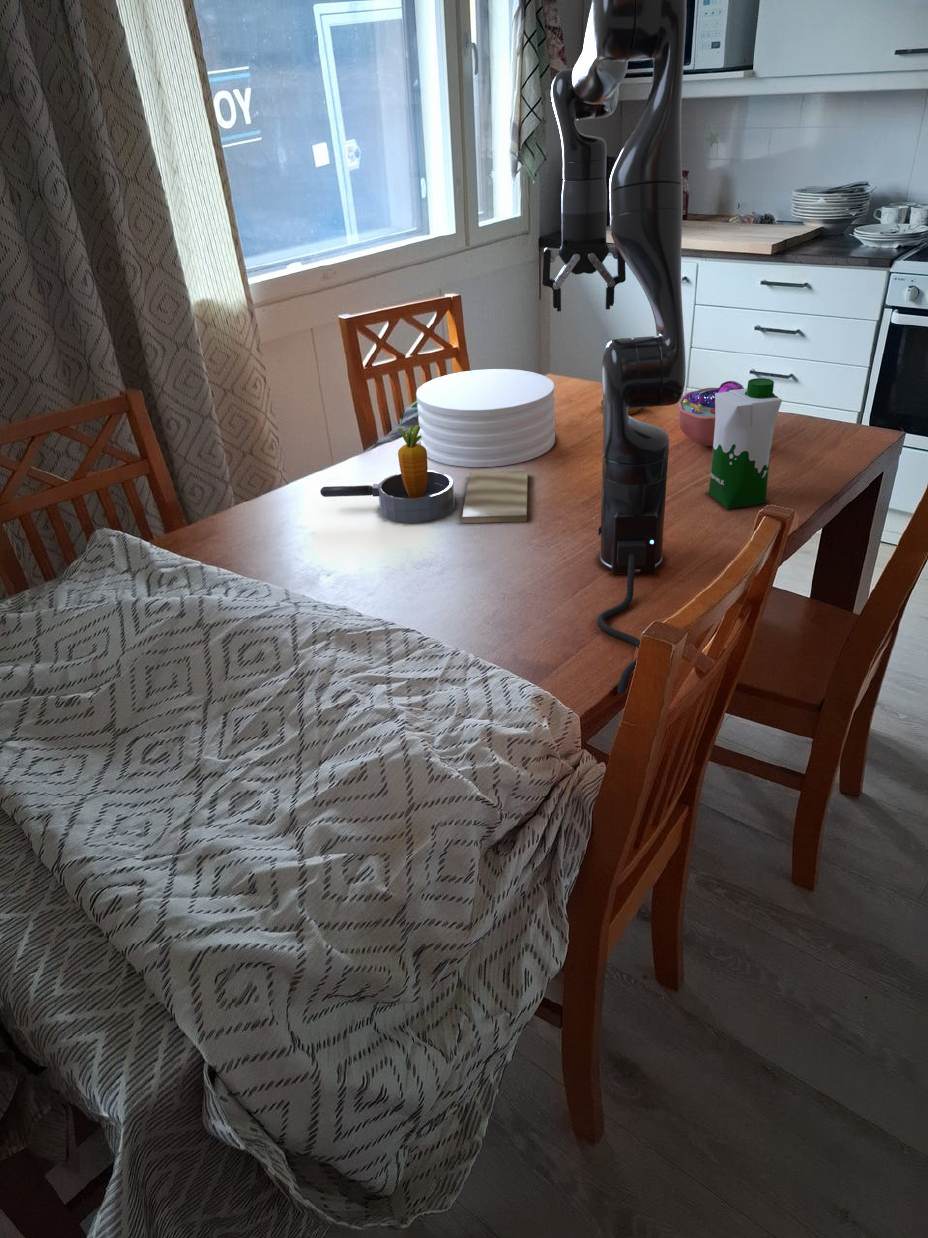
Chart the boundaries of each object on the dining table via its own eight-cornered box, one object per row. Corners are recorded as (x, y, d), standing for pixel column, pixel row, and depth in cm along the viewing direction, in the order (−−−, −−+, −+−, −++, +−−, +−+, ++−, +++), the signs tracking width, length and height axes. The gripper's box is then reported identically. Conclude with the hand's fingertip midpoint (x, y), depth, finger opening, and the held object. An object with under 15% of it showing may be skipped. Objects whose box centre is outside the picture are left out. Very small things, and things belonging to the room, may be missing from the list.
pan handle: (382, 492, 153) (381, 483, 152) (380, 496, 151) (379, 487, 150) (322, 494, 154) (320, 484, 153) (320, 498, 152) (318, 489, 151)
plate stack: (436, 475, 165) (431, 417, 159) (410, 430, 189) (405, 378, 183) (573, 455, 170) (574, 398, 164) (531, 413, 194) (530, 362, 188)
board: (526, 521, 145) (526, 515, 145) (462, 523, 146) (461, 516, 146) (527, 476, 162) (527, 470, 162) (469, 478, 163) (469, 472, 163)
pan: (451, 522, 147) (449, 498, 144) (375, 524, 148) (372, 500, 146) (457, 491, 158) (455, 468, 156) (386, 494, 159) (384, 471, 157)
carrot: (398, 507, 153) (388, 426, 145) (417, 498, 156) (409, 418, 148) (417, 514, 150) (409, 431, 142) (437, 504, 153) (430, 423, 145)
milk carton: (773, 504, 145) (789, 386, 134) (724, 512, 143) (736, 394, 133) (747, 485, 152) (760, 372, 142) (700, 492, 151) (709, 379, 140)
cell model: (653, 446, 171) (656, 390, 166) (711, 420, 182) (716, 366, 177) (727, 466, 160) (733, 406, 155) (784, 437, 171) (791, 380, 166)
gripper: (541, 213, 141) (542, 316, 149) (629, 208, 139) (625, 312, 148) (541, 208, 147) (543, 307, 156) (625, 203, 146) (622, 303, 154)
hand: (583, 309), depth 152 cm, fingers open, 8 cm apart
